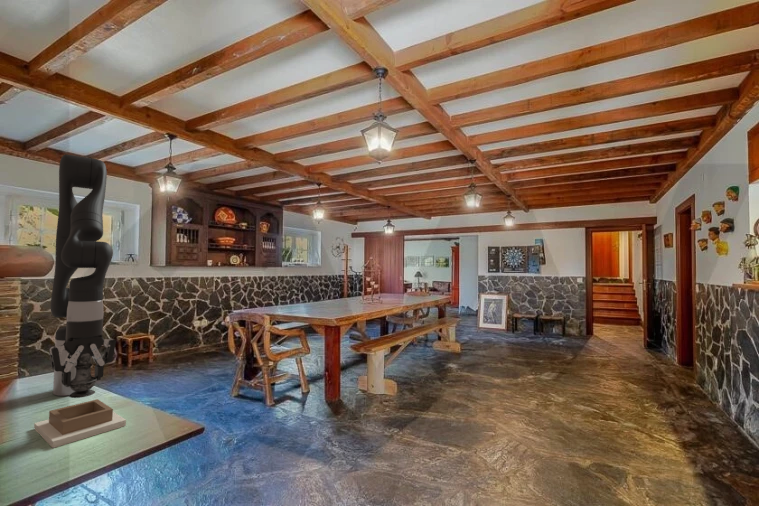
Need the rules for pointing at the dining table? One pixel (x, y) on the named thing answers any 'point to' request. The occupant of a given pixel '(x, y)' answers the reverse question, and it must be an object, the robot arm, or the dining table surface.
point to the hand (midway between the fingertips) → (82, 382)
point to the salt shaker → (83, 378)
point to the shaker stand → (78, 422)
